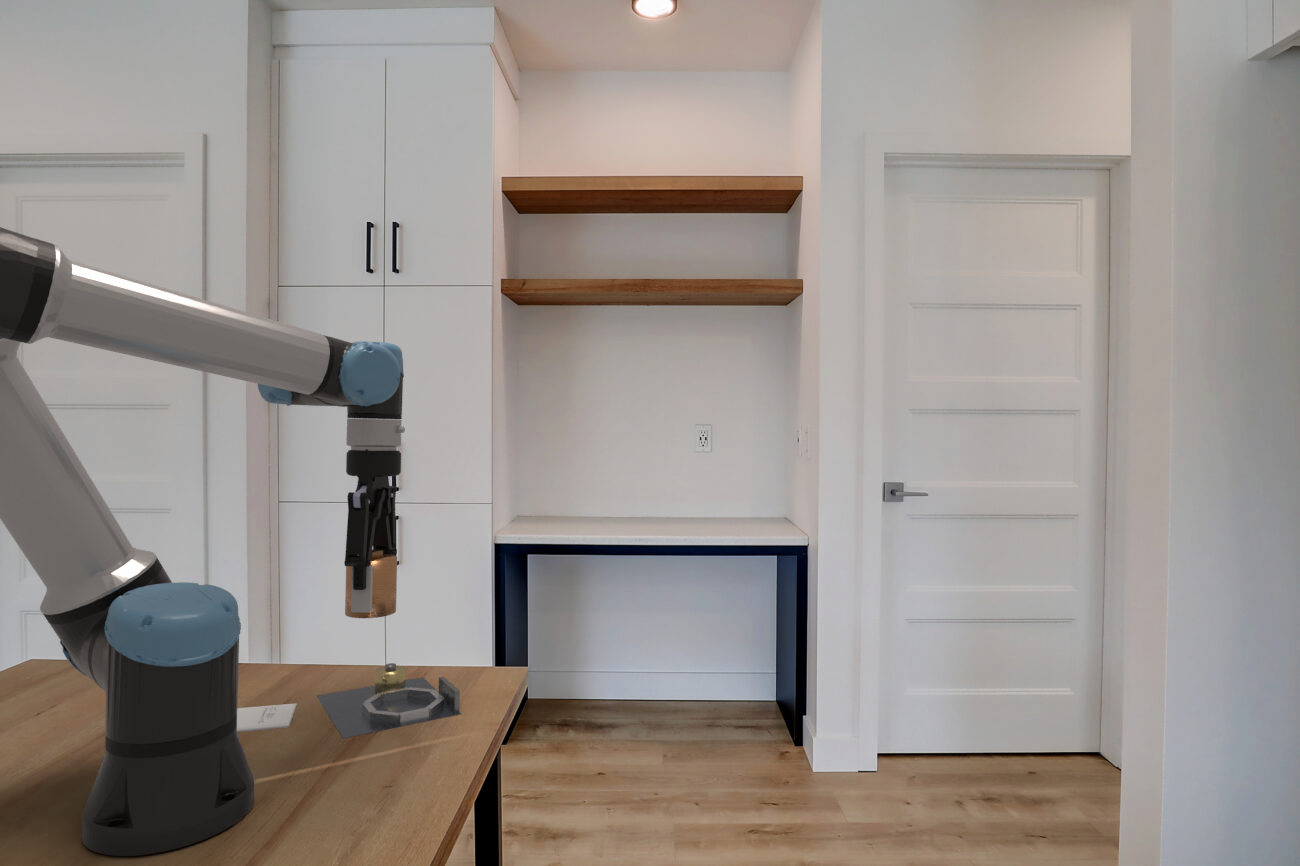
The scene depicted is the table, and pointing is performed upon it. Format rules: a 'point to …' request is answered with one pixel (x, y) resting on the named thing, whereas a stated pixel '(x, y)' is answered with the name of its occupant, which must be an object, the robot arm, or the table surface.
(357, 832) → the table surface
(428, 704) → the plate
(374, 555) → the copper knobbed cylinder
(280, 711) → the external hard drive
